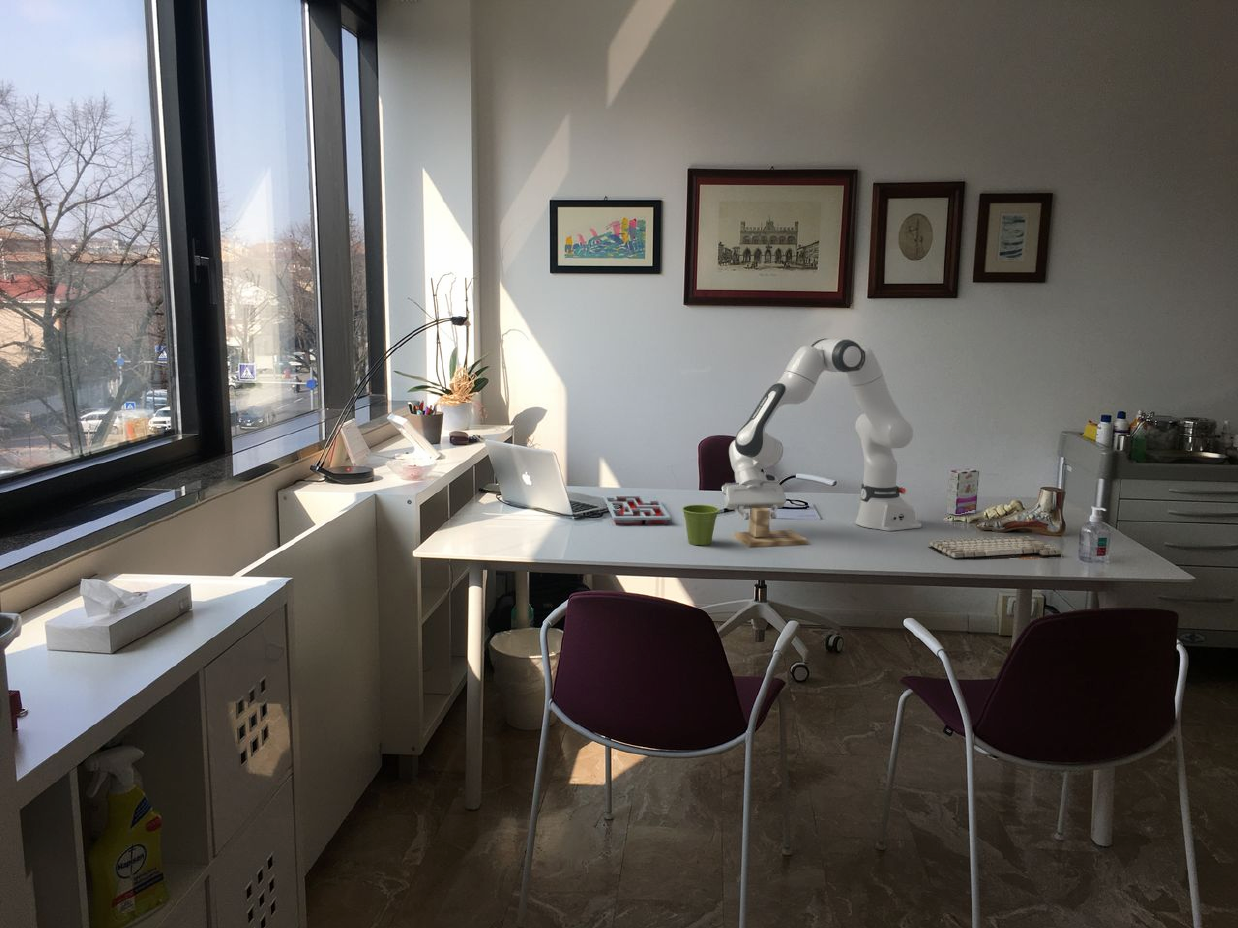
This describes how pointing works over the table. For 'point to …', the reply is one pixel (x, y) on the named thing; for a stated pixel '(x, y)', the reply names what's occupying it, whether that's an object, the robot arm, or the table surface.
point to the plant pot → (700, 523)
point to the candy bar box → (962, 490)
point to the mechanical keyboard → (994, 548)
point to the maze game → (636, 509)
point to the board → (772, 539)
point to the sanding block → (759, 522)
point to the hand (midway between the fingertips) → (760, 518)
